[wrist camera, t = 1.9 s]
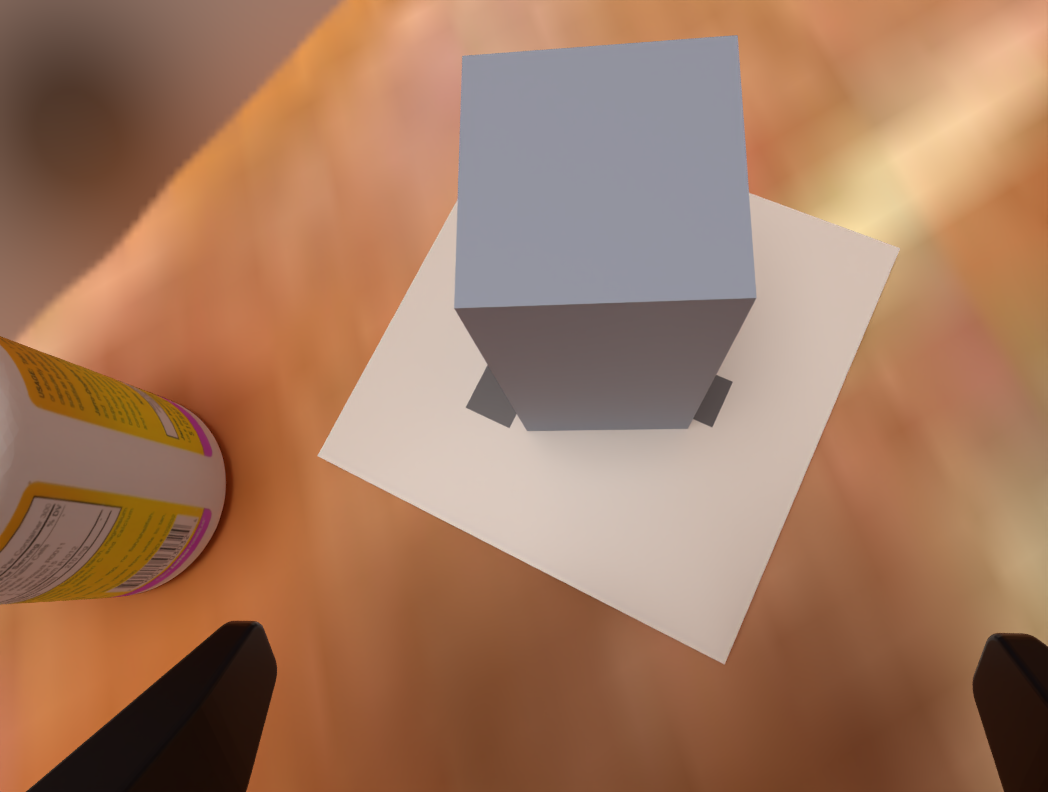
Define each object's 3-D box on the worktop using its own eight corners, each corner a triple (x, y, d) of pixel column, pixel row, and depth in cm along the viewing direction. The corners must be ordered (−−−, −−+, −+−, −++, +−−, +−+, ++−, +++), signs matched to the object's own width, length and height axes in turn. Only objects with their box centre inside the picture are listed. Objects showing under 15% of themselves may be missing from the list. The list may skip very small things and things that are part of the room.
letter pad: (893, 256, 24) (900, 248, 23) (721, 661, 21) (724, 664, 21) (511, 115, 26) (509, 104, 26) (324, 458, 24) (317, 455, 24)
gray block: (687, 428, 22) (756, 297, 12) (527, 431, 23) (454, 308, 12) (680, 277, 24) (737, 35, 13) (528, 283, 24) (462, 56, 14)
